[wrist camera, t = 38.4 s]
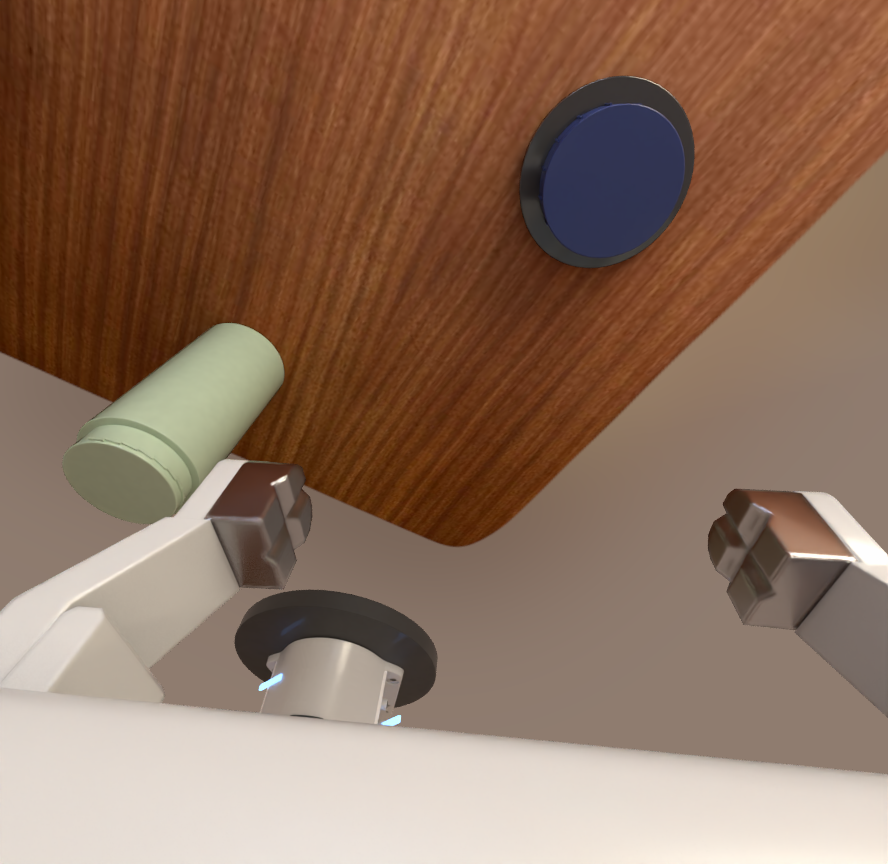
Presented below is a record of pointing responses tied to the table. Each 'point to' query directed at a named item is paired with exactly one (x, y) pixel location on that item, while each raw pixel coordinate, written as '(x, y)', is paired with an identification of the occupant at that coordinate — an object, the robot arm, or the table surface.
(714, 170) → the table surface
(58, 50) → the table surface
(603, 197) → the lid
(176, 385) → the jar
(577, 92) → the coaster
